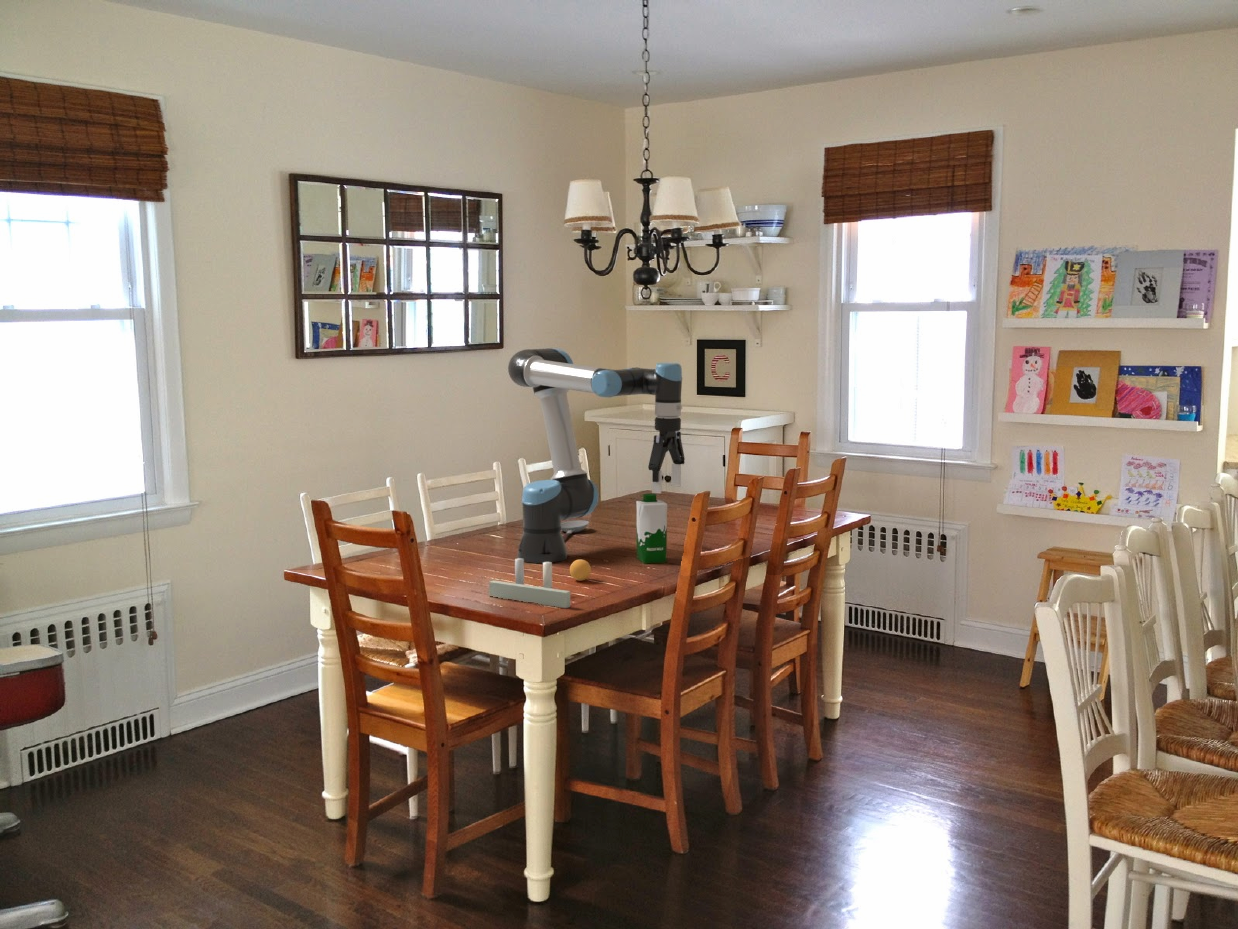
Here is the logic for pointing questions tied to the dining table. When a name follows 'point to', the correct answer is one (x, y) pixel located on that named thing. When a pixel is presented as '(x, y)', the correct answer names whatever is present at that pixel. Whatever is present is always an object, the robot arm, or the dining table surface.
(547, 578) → the pin
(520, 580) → the grey pin
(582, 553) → the dining table surface
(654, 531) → the milk carton
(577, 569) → the ball
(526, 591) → the wall
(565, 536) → the spoon
